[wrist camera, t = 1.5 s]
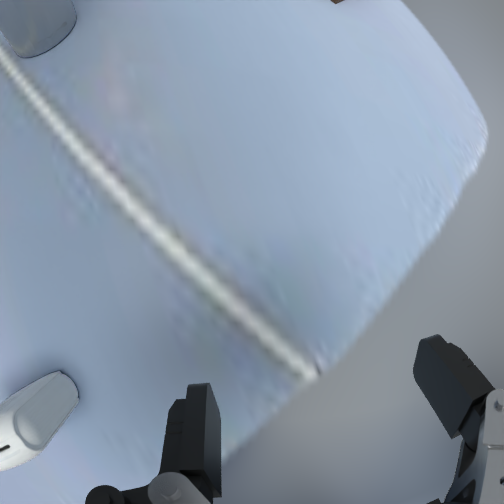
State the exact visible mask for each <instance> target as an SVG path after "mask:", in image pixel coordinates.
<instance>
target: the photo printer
mask: <svg viewBox="0 0 504 504" xmlns="http://www.w3.org/2000/svg"><path fill="white" fill-rule="evenodd" d="M78 402H79V398H78V391H77V388H76V386H75V384H74V383H73V381H72V380H71V379H70V378H69V377H68V376H66V375H65V374H61V372H60V371H58V372H54V373H51V374H48V375H46V376H44V377H42V378H40V379H38V380H37V381H35V382H33V383H31V384H29V385H28V386H26V387H24V388H22V389H21V390H19V391H18V392H16V393H14V394H13V395H11V396H10V397H9V398H7V399H6V400H5V401H4V402H2V403H1V404H0V471H4V470H8V469H11V468H14V467H17V466H19V465H21V464H24V463H26V462H28V461H30V460H31V459H33V458H35V457H36V456H38V455H39V454H40V453H41V452H42V451H43V450H44V449H45V448H46V446H47V445H48V444H49V442H50V441H51V440H52V438H53V437H54V435H55V434H56V433H57V431H58V430H59V429H60V427H61V426H62V425H63V423H64V422H65V421H66V419H67V418H68V416H69V415H70V414H71V412H72V411H73V410H74V408H75V407H76V406H77V404H78Z"/></svg>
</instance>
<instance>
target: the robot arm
mask: <svg viewBox="0 0 504 504" xmlns="http://www.w3.org/2000/svg"><path fill="white" fill-rule="evenodd" d="M76 18H77V17H76V12H75V9H74V6H73V3H72V1H71V0H0V30H1V32H2V33H3V35H4V36H5V38H6V39H7V41H8V42H9V44H10V45H11V47H12V48H13V50H14V51H15V52H16V54H17V55H18V56H20V57H26V58H27V57H33V56H36V55H39V54H41V53H43V52H46V51H47V50H49V49H51V48H52V47H54V46H55V45H56V44H58V43H59V42H60V41H61V40H62V39H64V38H65V37H66V36H67V34H68V33H69V32H70V31H71V29H72V28H73V26H74V24H75V22H76ZM413 374H414V378H415V381H416V383H417V384H418V386H419V387H420V389H421V390H422V392H423V393H424V395H425V397H426V398H427V400H428V401H429V403H430V405H431V406H432V408H433V409H434V411H435V413H436V414H437V416H438V417H439V419H440V421H441V422H442V424H443V426H444V427H445V429H446V431H447V432H448V434H449V436H450V437H451V439H453V438H455V437H457V436H459V435H460V434H461V435H462V437H463V440H462V442H461V446H460V452H459V457H458V462H457V467H456V471H455V475H454V479H453V483H452V485H451V487H450V489H449V490H448V493H447V495H446V497H445V499H444V502H443V503H441V502H440V500H439V499H436V500H434V501H432V502H429V503H427V504H504V389H495V388H494V387H493V386H492V385H491V383H490V382H489V381H488V380H487V379H486V377H485V376H484V375H483V374H482V373H481V371H480V370H479V369H478V368H477V367H476V366H475V365H474V363H473V362H472V361H471V360H470V359H468V356H467V355H466V354H465V353H464V352H463V351H462V349H461V348H459V347H457V346H455V345H453V344H452V343H447V342H446V341H445V340H444V339H443V338H442V337H441V336H440V335H438V334H437V335H434V336H431V337H428V338H425V339H422V340H421V341H420V342H419V346H418V350H417V355H416V359H415V363H414V367H413ZM215 497H222V492H221V419H220V412H219V408H218V405H217V403H216V400H215V397H214V394H213V391H212V388H211V385H210V383H201V384H189V385H188V387H187V395H186V399H176V401H175V402H174V404H173V405H172V407H171V408H170V410H169V413H168V419H167V425H166V434H165V438H164V445H163V452H162V459H161V467H160V471H159V474H158V475H157V476H156V477H155V478H154V479H153V480H152V481H151V482H150V484H148V485H146V486H143V487H140V488H135V489H130V490H125V491H119V490H118V489H116V488H115V487H112V486H109V485H101V486H98V487H95V488H94V489H92V490H91V491H90V492H89V494H88V495H87V497H86V501H85V504H213V498H215Z"/></svg>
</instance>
